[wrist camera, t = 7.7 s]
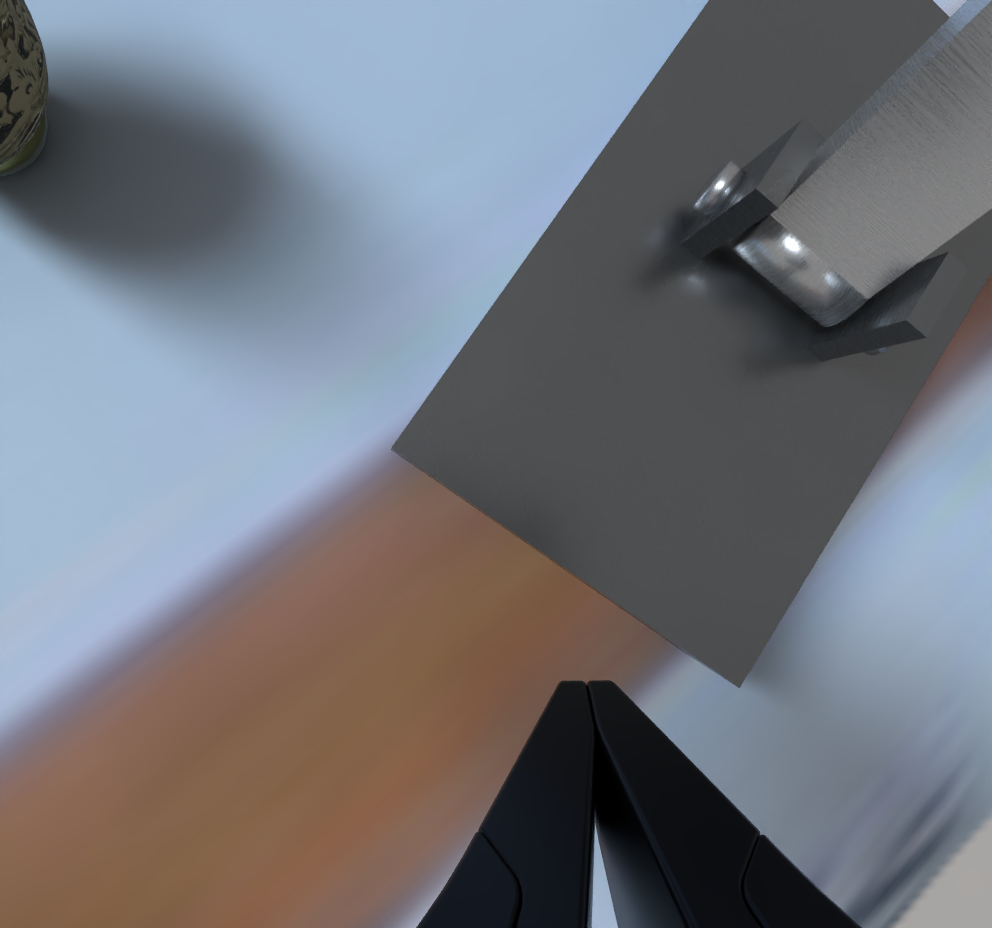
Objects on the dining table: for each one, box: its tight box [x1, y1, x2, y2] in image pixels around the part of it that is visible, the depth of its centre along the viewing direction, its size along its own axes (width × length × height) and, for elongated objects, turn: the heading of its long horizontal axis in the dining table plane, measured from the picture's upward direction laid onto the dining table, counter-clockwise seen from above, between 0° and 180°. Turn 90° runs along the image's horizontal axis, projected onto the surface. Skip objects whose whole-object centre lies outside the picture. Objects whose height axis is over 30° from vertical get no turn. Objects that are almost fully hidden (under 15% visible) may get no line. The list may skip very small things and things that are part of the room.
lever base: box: [391, 0, 992, 688], centre depth 19 cm, size 24×14×7 cm, turn 145°
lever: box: [729, 0, 992, 327], centre depth 15 cm, size 3×4×12 cm
